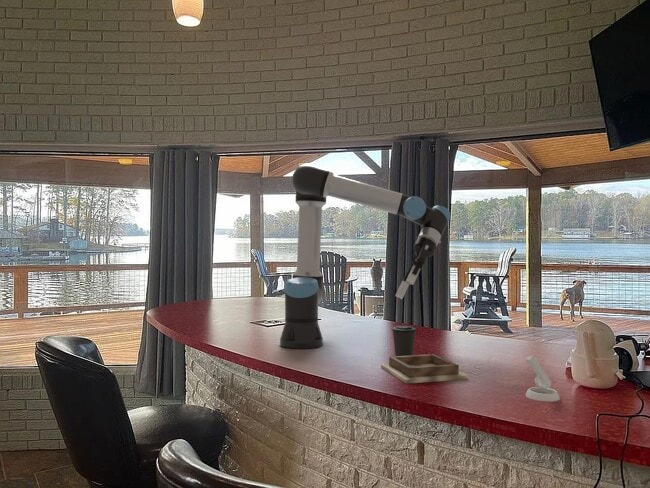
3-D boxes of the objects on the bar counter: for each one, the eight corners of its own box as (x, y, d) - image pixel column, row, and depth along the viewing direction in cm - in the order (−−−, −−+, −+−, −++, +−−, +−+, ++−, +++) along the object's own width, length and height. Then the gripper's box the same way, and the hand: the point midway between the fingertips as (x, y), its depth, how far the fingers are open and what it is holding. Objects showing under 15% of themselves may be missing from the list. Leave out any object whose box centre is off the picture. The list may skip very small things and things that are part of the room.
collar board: (406, 383, 142) (406, 370, 142) (381, 367, 159) (381, 355, 159) (467, 379, 147) (468, 366, 146) (437, 364, 164) (437, 352, 164)
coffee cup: (410, 361, 167) (410, 329, 167) (386, 358, 172) (386, 326, 172) (420, 356, 174) (421, 325, 174) (397, 353, 179) (397, 323, 178)
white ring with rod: (501, 373, 132) (517, 354, 135) (529, 412, 133) (545, 392, 136) (522, 373, 125) (539, 354, 128) (552, 414, 126) (568, 394, 129)
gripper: (448, 231, 185) (424, 281, 175) (425, 261, 207) (403, 307, 197) (428, 221, 185) (403, 270, 176) (408, 252, 207) (385, 297, 198)
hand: (403, 290), depth 186 cm, fingers open, 13 cm apart
